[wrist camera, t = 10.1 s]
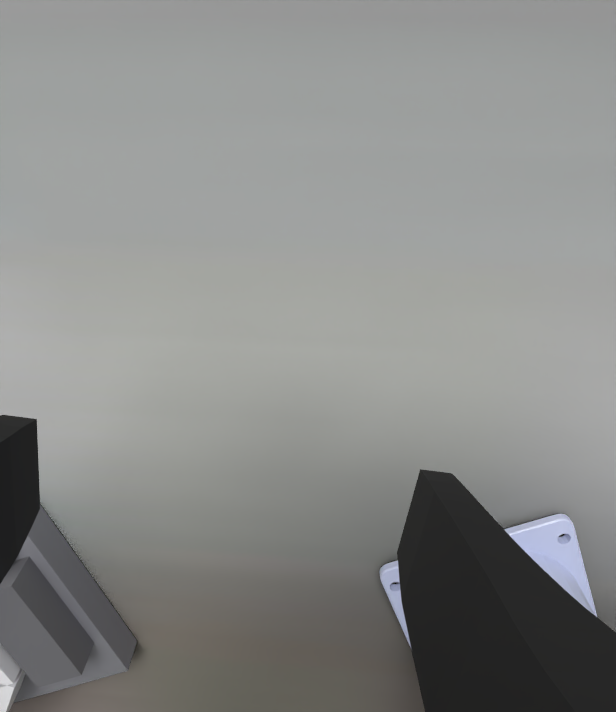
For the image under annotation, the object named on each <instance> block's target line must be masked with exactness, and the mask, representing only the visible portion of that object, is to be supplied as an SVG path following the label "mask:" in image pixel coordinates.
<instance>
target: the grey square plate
mask: <svg viewBox="0 0 616 712" xmlns="http://www.w3.org/2000/svg"><path fill="white" fill-rule="evenodd" d="M136 643H137V640H136V639H135V637H134V636H133V634H132V633H131V632H130V630H129V629H128V627H127V626H126V624H125V623H124V622H123V620H122V619H121V617H120V616H119V615H118V613H117V612H116V610H115V609H114V608H113V606H112V605H111V603H110V602H109V600H108V599H107V598H106V596H105V595H104V593H103V592H102V591H101V589H100V588H99V586H98V585H97V584H96V582H95V581H94V579H93V578H92V577H91V575H90V574H89V572H88V571H87V569H86V568H85V567H84V565H83V564H82V562H81V561H80V560H79V558H78V557H77V555H76V554H75V553H74V551H73V550H72V548H71V547H70V545H69V544H68V543H67V541H66V540H65V538H64V537H63V536H62V534H61V533H60V531H59V530H58V529H57V527H56V526H55V524H54V523H53V522H52V520H51V519H50V517H49V516H48V514H47V513H46V512H45V510H44V509H43V507H42V506H41V505H40V510H39V512H38V514H37V517H36V519H35V521H34V523H33V525H32V528H31V530H30V532H29V534H28V536H27V538H26V540H25V542H24V544H23V546H22V548H21V550H20V553H19V555H18V557H17V558H16V560H15V562H14V563H13V565H12V566H11V568H10V570H9V571H8V573H7V574H6V576H5V577H4V579H3V581H2V582H1V584H0V712H9V710H10V708H11V706H12V704H13V703H15V702H19V701H23V700H26V699H30V698H33V697H37V696H40V695H44V694H47V693H51V692H54V691H58V690H61V689H65V688H69V687H72V686H76V685H79V684H83V683H86V682H90V681H93V680H97V679H100V678H104V677H108V676H111V675H115V674H118V673H122V672H125V671H128V669H129V666H130V663H131V659H132V656H133V653H134V650H135V646H136Z"/></svg>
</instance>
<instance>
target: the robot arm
mask: <svg viewBox="0 0 616 712" xmlns="http://www.w3.org/2000/svg"><path fill="white" fill-rule="evenodd" d="M39 510H40V495H39V470H38V444H37V419H30V418H23V417H15V416H7V415H1V416H0V584H1V582H2V581H3V579H4V577H5V576H6V574H7V573H8V571H9V570H10V568H11V566H12V565H13V563H14V562H15V560H16V558H17V557H18V555H19V553H20V550H21V548H22V546H23V544H24V542H25V540H26V538H27V536H28V534H29V532H30V530H31V528H32V525H33V523H34V521H35V519H36V517H37V514H38V512H39ZM562 534H565V535H564V536H562V537H559V536H560V535H562ZM397 554H398V560H397V561H394V562H390V563H387V564H385V565H383V566H382V567H381V568H380V571H379V573H380V580H381V583H382V585H383V587H384V589H385V591H386V594H387V596H388V598H389V600H390V603H391V605H392V607H393V609H394V612H395V614H396V616H397V618H398V621H399V623H400V625H401V627H402V630H403V632H404V634H405V636H406V638H407V641H408V643H409V645H410V647H411V650H412V653H413V658H414V663H415V667H416V672H417V676H418V681H419V685H420V690H421V694H422V699H423V703H424V708H425V712H616V633H615V632H614V631H613V630H612V629H611V628H609V627H608V626H607V625H606V624H604V623H603V622H602V621H601V620H600V619H598V618H597V614H596V610H595V606H594V602H593V598H592V594H591V590H590V587H589V583H588V579H587V575H586V571H585V567H584V563H583V559H582V555H581V551H580V548H579V544H578V540H577V536H576V532H575V528H574V525H573V523H572V521H571V520H570V518H569V517H568V516H567V515H565V514H555V515H552V516H548V517H545V518H541V519H538V520H535V521H531V522H528V523H524V524H521V525H517V526H514V527H511V528H507V529H503V528H502V527H501V526H500V525H499V524H498V523H497V522H496V521H495V519H494V518H493V517H492V516H491V515H490V514H489V513H488V512H487V511H486V510H485V509H484V507H483V506H482V505H481V504H480V503H479V502H478V501H477V500H476V499H475V498H474V496H473V495H472V494H471V493H470V492H469V491H468V490H467V489H466V488H465V487H464V486H463V485H462V484H461V482H460V481H459V480H458V479H457V478H456V477H455V476H454V475H453V474H451V473H444V472H436V471H428V470H421V469H420V473H419V476H418V480H417V483H416V487H415V491H414V494H413V498H412V501H411V505H410V509H409V512H408V516H407V519H406V523H405V526H404V530H403V534H402V537H401V541H400V544H399V548H398V552H397ZM393 582H399V583H398V584H392V583H393Z"/></svg>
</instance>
